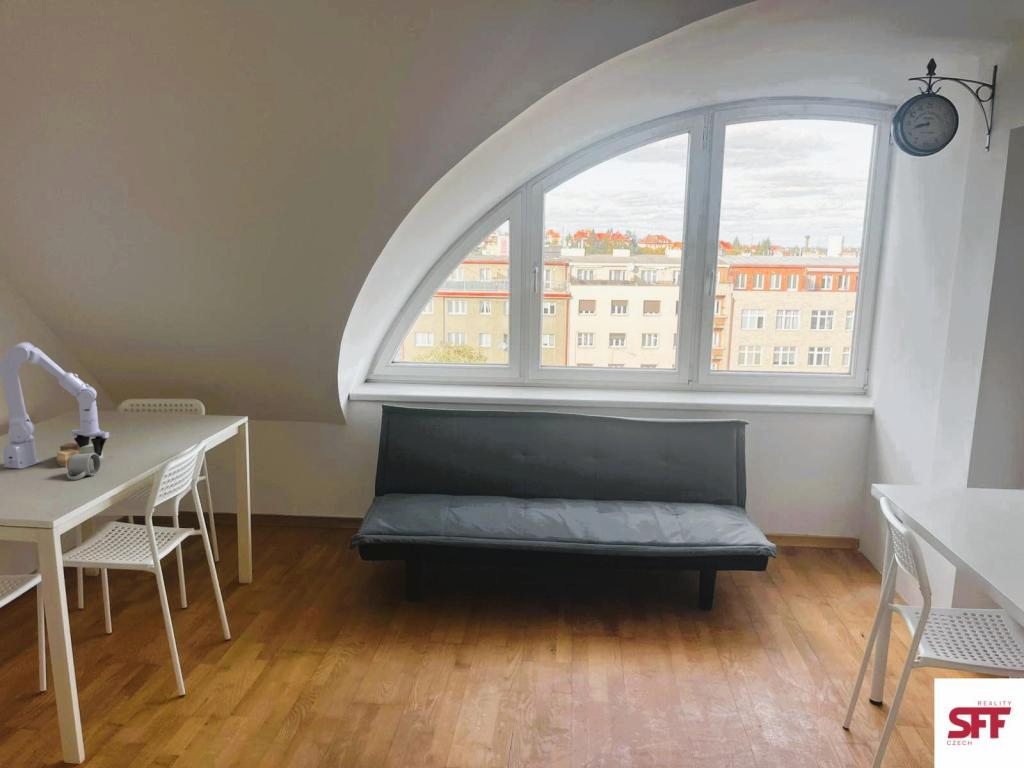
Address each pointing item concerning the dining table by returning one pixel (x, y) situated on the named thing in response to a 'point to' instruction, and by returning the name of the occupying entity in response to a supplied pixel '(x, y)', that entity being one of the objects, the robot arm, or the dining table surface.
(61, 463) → the oak block
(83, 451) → the sage block
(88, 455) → the ceramic mug
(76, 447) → the walnut block
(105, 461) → the dining table surface
